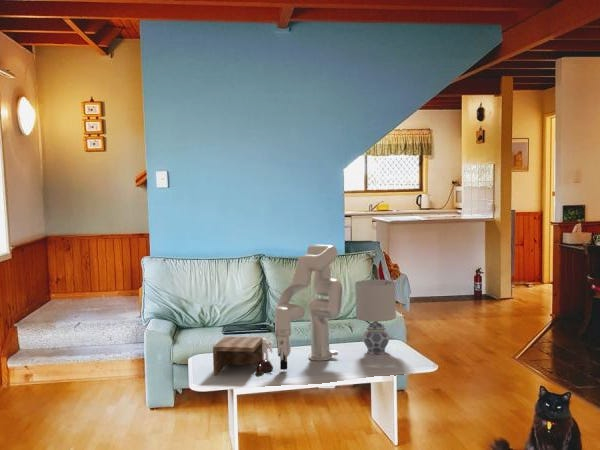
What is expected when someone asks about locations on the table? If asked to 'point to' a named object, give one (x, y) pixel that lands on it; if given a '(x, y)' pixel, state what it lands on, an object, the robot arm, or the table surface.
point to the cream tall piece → (266, 347)
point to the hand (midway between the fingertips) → (283, 369)
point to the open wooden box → (237, 352)
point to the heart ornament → (263, 367)
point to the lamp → (375, 311)
